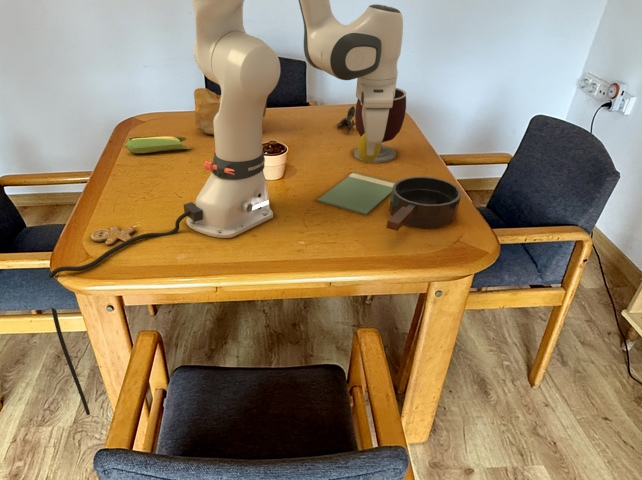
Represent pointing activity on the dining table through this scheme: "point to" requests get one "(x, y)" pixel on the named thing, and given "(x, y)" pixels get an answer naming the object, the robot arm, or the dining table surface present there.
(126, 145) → the edible corn
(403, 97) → the mate gourd
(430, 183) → the pan
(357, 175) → the tea towel
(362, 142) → the lemon
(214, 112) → the rough brown rock
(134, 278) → the dining table surface
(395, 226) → the pan handle
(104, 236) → the cookie
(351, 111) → the eagle figurine
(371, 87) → the robot arm
